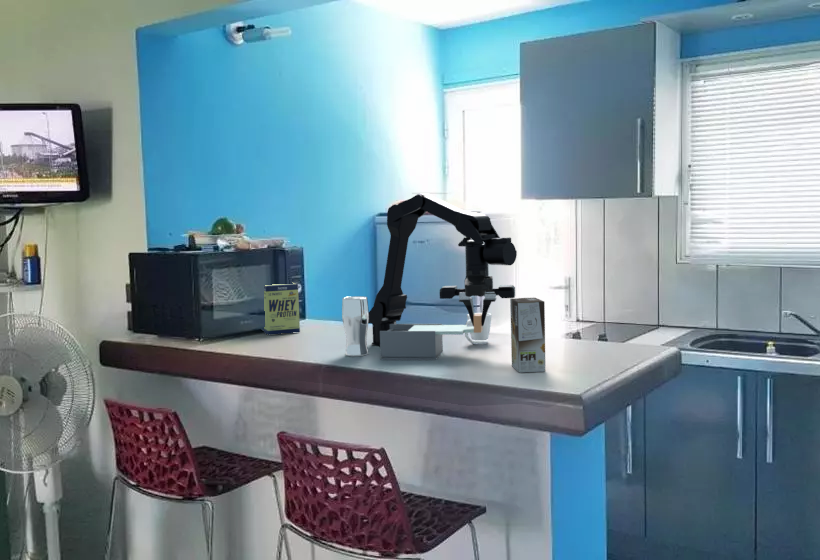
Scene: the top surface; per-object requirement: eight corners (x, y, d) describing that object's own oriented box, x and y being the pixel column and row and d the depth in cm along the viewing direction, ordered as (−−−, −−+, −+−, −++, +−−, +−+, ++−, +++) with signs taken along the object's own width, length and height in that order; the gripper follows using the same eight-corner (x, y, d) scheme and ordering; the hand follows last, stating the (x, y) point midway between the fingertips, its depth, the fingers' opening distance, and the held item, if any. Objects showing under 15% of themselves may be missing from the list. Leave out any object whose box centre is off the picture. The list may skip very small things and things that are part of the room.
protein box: (267, 335, 249) (265, 285, 247) (258, 329, 263) (256, 282, 262) (300, 333, 252) (298, 283, 251) (289, 327, 267) (287, 280, 266)
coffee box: (546, 371, 180) (545, 301, 179) (518, 373, 180) (517, 302, 179) (536, 364, 189) (535, 296, 188) (510, 365, 189) (509, 298, 188)
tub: (380, 359, 201) (379, 331, 201) (390, 350, 214) (390, 324, 214) (435, 359, 199) (435, 331, 198) (442, 350, 212) (442, 323, 211)
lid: (406, 334, 201) (406, 318, 200) (414, 328, 212) (413, 312, 211) (479, 334, 197) (479, 317, 197) (483, 327, 208) (483, 311, 208)
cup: (497, 342, 223) (497, 313, 222) (476, 347, 216) (476, 317, 215) (477, 340, 228) (476, 311, 227) (455, 345, 220) (455, 316, 219)
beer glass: (374, 352, 212) (372, 296, 211) (364, 357, 206) (362, 299, 205) (349, 351, 215) (347, 296, 213) (339, 356, 208) (337, 299, 207)
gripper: (435, 267, 195) (437, 330, 197) (512, 266, 192) (513, 330, 193) (441, 264, 206) (443, 324, 208) (514, 263, 203) (515, 324, 204)
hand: (478, 325), depth 203 cm, fingers closed on lid, 2 cm apart
